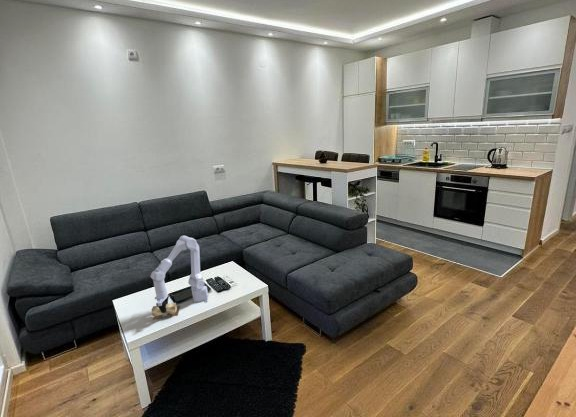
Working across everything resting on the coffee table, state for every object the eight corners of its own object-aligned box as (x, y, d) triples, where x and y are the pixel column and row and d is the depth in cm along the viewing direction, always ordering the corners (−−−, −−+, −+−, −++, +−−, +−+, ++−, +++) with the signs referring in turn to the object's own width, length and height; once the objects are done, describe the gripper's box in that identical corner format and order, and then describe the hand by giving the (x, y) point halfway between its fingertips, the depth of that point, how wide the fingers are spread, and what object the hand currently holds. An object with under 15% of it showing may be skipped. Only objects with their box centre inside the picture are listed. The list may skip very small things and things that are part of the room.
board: (180, 306, 191) (180, 305, 191) (177, 316, 181) (177, 315, 181) (157, 310, 189) (157, 309, 189) (153, 320, 179) (152, 319, 178)
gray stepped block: (171, 313, 184) (170, 309, 183) (169, 316, 180) (169, 313, 179) (162, 314, 183) (161, 311, 182) (160, 318, 179) (160, 314, 179)
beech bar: (176, 308, 184) (175, 302, 183) (175, 312, 180) (174, 306, 179) (154, 312, 182) (153, 306, 181) (152, 316, 178) (151, 310, 177)
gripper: (156, 284, 183) (160, 304, 187) (150, 297, 170) (154, 318, 173) (168, 283, 184) (172, 302, 188) (163, 295, 171) (167, 316, 174)
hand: (164, 310), depth 180 cm, fingers open, 4 cm apart
